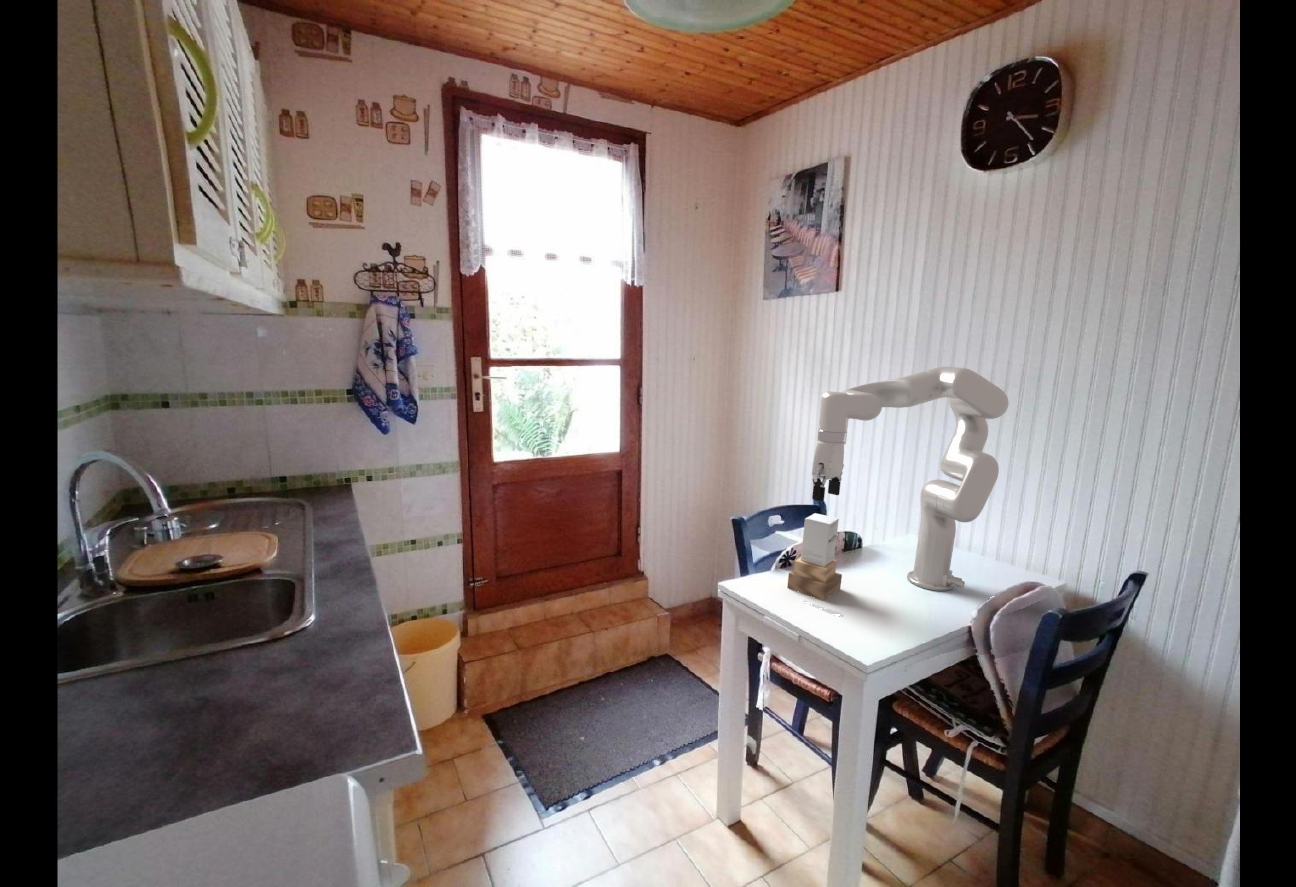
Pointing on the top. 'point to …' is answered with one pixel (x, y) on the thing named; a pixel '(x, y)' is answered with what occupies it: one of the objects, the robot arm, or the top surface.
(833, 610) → the butter knife
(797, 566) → the tower top
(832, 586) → the tower base
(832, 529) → the supplement box
